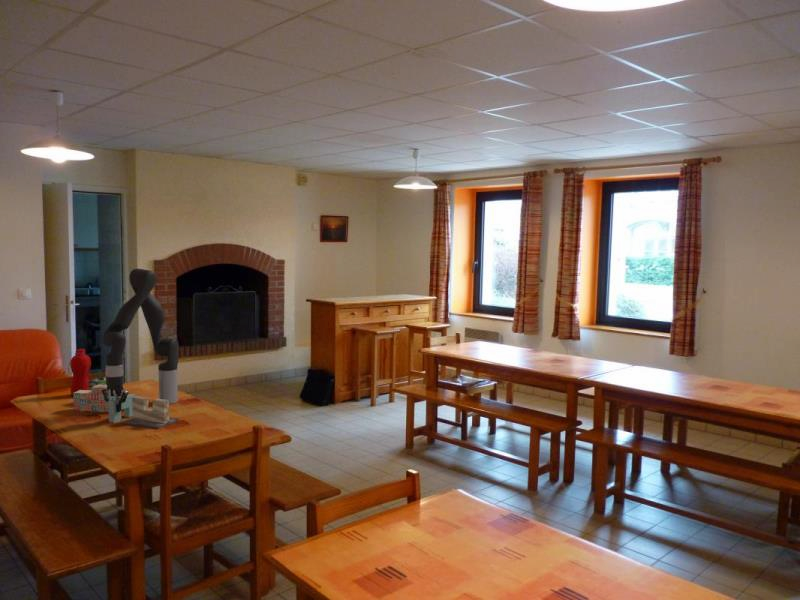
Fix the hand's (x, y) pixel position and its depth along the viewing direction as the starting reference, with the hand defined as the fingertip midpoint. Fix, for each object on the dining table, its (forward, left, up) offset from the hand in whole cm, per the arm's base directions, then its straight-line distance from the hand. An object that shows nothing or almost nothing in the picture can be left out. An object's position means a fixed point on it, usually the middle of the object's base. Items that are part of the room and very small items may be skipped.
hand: (115, 411), depth 286 cm
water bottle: (-43, -43, -5) cm, 62 cm away
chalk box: (-33, -25, -5) cm, 42 cm away
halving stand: (0, +17, -5) cm, 17 cm away
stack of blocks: (-17, -18, -5) cm, 25 cm away
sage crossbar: (-4, +1, -5) cm, 6 cm away
